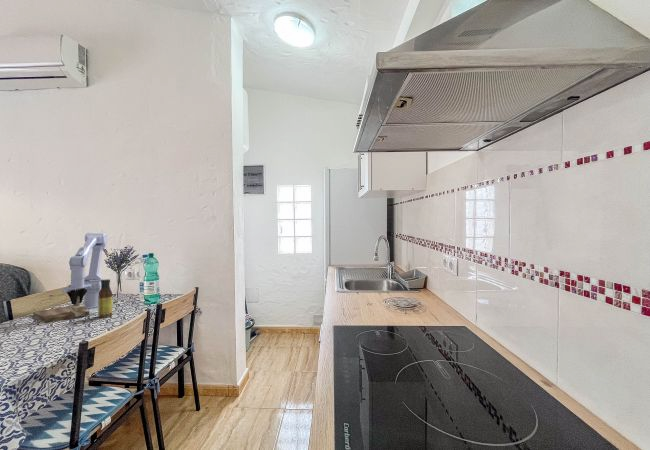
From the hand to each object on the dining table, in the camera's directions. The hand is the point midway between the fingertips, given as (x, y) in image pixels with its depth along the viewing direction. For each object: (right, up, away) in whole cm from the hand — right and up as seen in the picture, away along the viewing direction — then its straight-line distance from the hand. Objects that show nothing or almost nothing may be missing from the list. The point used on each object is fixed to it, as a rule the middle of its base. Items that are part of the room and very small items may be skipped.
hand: (76, 303), depth 168 cm
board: (-8, -6, -1) cm, 10 cm away
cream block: (+1, -6, -1) cm, 6 cm away
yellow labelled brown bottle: (+15, -7, 0) cm, 17 cm away
